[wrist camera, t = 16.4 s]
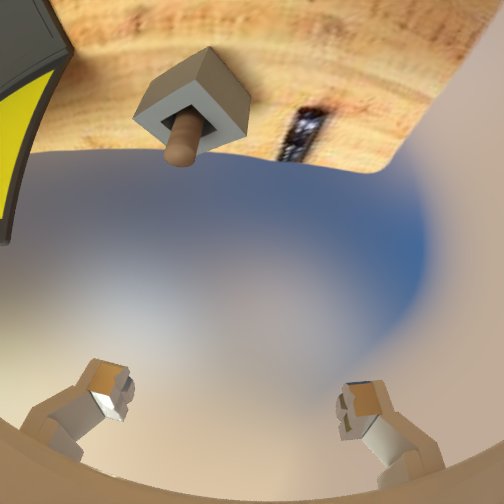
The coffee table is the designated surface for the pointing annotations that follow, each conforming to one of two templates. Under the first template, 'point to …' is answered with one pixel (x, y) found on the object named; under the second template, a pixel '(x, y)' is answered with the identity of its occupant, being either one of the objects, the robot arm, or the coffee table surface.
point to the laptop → (25, 89)
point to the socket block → (197, 101)
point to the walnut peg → (184, 137)
